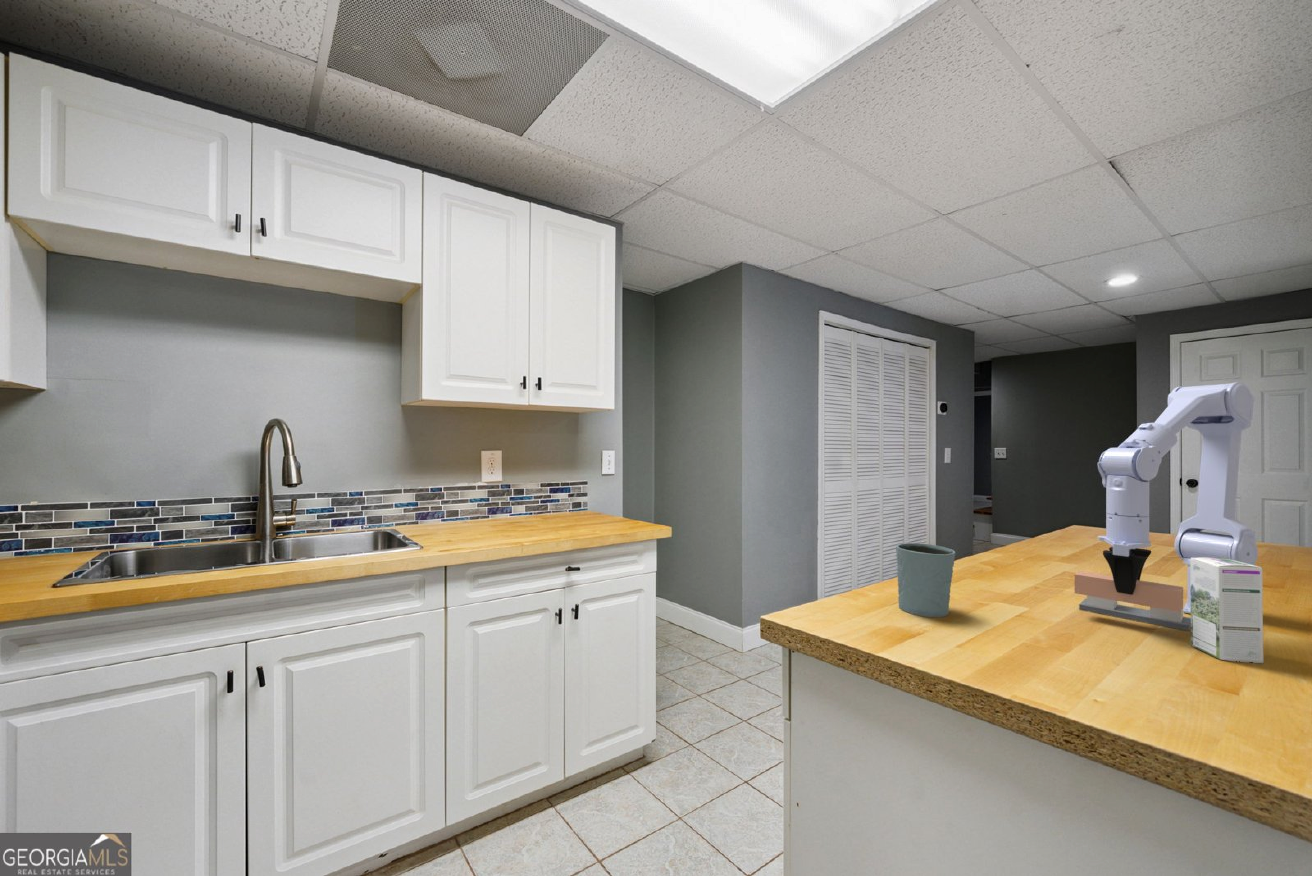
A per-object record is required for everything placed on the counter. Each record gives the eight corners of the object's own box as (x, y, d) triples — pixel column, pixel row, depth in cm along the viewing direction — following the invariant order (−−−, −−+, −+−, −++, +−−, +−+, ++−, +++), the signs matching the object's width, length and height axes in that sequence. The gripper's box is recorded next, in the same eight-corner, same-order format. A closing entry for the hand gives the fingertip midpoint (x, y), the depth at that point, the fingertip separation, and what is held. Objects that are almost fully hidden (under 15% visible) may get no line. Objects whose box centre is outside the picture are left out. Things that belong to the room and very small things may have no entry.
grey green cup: (888, 600, 106) (889, 541, 106) (941, 603, 105) (942, 543, 105) (905, 617, 96) (906, 552, 96) (964, 620, 95) (964, 554, 95)
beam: (1079, 589, 100) (1079, 571, 100) (1183, 607, 89) (1183, 587, 89) (1074, 593, 97) (1074, 574, 97) (1181, 612, 86) (1181, 591, 86)
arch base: (1085, 603, 106) (1085, 576, 106) (1191, 623, 94) (1191, 593, 95) (1079, 609, 102) (1079, 581, 102) (1188, 631, 91) (1188, 599, 91)
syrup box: (1265, 664, 77) (1266, 566, 77) (1218, 660, 78) (1218, 564, 78) (1231, 649, 83) (1232, 558, 83) (1187, 645, 84) (1188, 556, 84)
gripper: (1105, 508, 101) (1105, 579, 101) (1090, 515, 91) (1090, 593, 91) (1155, 512, 95) (1155, 587, 95) (1145, 520, 86) (1144, 603, 86)
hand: (1127, 590), depth 93 cm, fingers closed on beam, 4 cm apart
